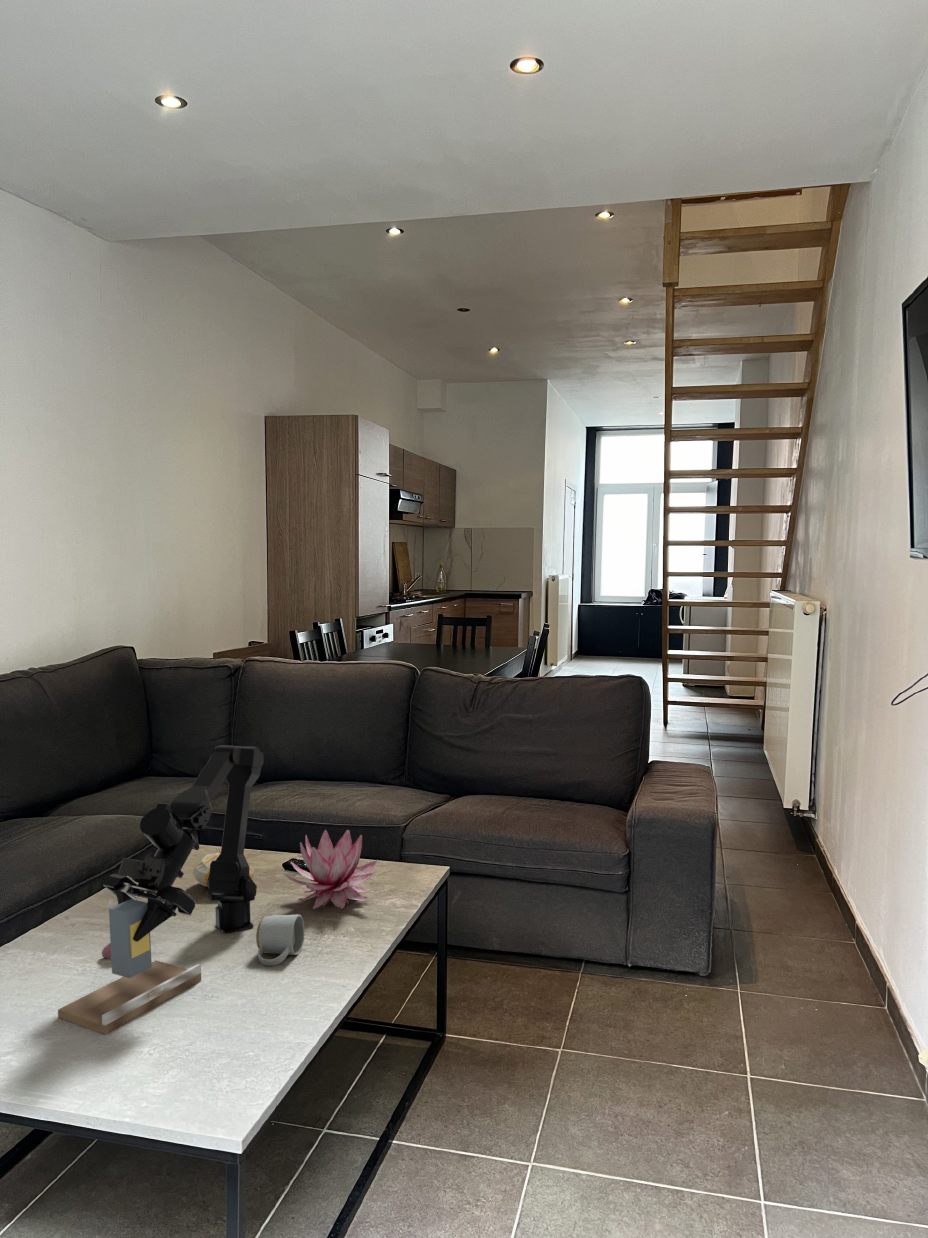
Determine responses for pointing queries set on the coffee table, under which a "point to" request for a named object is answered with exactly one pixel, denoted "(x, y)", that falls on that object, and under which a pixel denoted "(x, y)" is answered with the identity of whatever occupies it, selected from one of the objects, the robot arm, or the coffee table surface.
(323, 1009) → the coffee table surface
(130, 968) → the tea tin
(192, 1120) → the coffee table surface
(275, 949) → the ceramic mug
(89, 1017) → the board
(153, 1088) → the coffee table surface
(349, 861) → the decorative flower
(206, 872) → the nautilus
